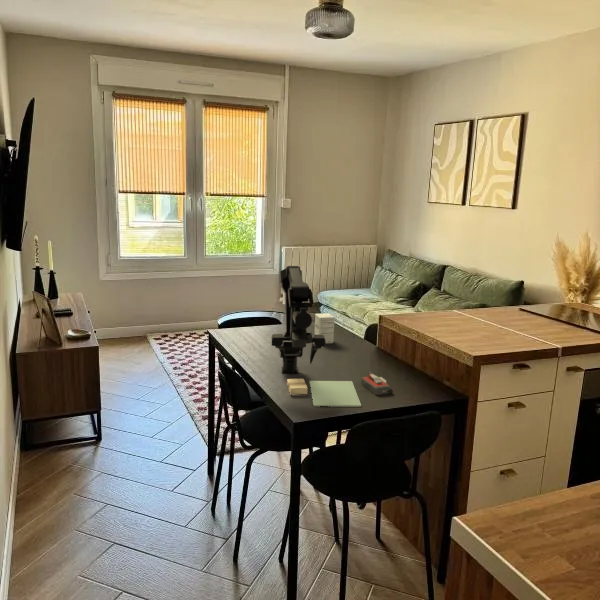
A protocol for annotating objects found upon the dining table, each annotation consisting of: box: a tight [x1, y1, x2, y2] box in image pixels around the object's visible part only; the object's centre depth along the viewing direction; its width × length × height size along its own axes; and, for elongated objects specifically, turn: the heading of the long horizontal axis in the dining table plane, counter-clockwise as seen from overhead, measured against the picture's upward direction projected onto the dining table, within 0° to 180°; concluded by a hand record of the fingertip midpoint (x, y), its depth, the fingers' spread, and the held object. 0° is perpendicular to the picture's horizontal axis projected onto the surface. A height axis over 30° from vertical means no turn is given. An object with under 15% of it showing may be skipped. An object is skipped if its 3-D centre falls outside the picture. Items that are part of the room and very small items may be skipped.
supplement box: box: [314, 312, 335, 344], centre depth 250 cm, size 7×7×13 cm
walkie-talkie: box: [360, 371, 394, 396], centre depth 199 cm, size 9×4×20 cm
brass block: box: [286, 378, 308, 395], centre depth 192 cm, size 9×6×3 cm, turn 9°
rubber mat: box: [308, 380, 362, 408], centre depth 190 cm, size 22×16×1 cm
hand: (297, 363), depth 190 cm, fingers open, 9 cm apart
